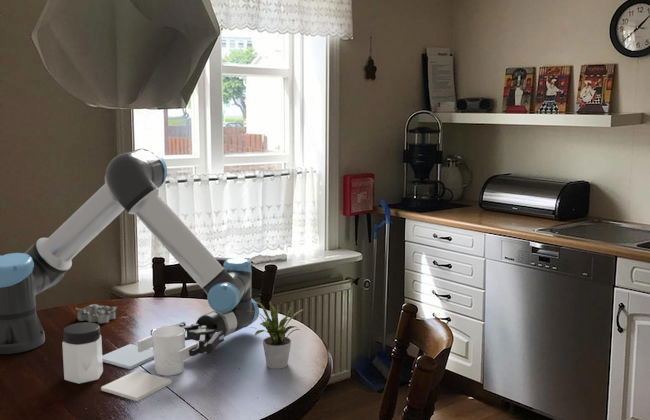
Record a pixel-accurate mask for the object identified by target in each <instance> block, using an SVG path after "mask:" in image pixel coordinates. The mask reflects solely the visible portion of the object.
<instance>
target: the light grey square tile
mask: <svg viewBox="0 0 650 420" xmlns="http://www.w3.org/2000/svg"><path fill="white" fill-rule="evenodd" d="M102 359H103V363H106V364H110V365H113V366H117V367H120V368H124V369H127V370H133V369H134V368H136V367H139V366H140V365H144V364H145V363H147V362H150V361H151V360H154V353H153V348H149V349H147V350H145V351H142V352H138V344H137V345H136V344H132V343H129V344H127V345H125V346H122V347H119V348H117V349H115V350H112V351H110V352H108V353H105V354H102Z"/></svg>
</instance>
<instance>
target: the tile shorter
mask: <svg viewBox="0 0 650 420" xmlns="http://www.w3.org/2000/svg"><path fill="white" fill-rule="evenodd" d="M171 384H172V379H169V378H165V377H161V376H157V375H154V374H151V373H147V372H144V371H140V370H134V371H132V372H130V373H128V374H126V375H124V376H123V375H122V377H119V378H118V379H115V380H113V381H111V382H109V383H106V384H104V385H102V386H101V387H100V391H102V392H106V393H109V394H113V395H115V396H119V397H122V398H125V399H129V400H131V401H134V402H140V401H141V400H143V399H144V398H147V397H149V396H151V395H152V394H154V393H156V392H159V390H160V391H161V390H162V389H164V388H166V387H167V386H169V385H171Z"/></svg>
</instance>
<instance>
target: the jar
mask: <svg viewBox="0 0 650 420" xmlns="http://www.w3.org/2000/svg"><path fill="white" fill-rule="evenodd" d="M100 327H101V326H100V325H99V323H96V322H87V321H86V322H84V321H83V322H77V323H72V324H70V325H67V326H65V327H64V328H63V329H62V330H63V331H62V332H63V334H62V335H63V341H62V343H61V344H62V346H61V347H62V360H63V376H64V377H63V379H64V380H65V381H67V382H71V383H75V384H85V383H89V382H94V381H97V380H99V379H100V377H101V376H102V374H103V372H104V366H103V365H104V364H103V363H104V362H103V359H102V356H103V344H102V343H103V342H102V335H101V328H100Z"/></svg>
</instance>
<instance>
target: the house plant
mask: <svg viewBox="0 0 650 420" xmlns="http://www.w3.org/2000/svg"><path fill="white" fill-rule="evenodd" d="M254 301H255V300H254ZM255 302H256V303H257V305H259V306H260V307H261V308H262V311H263V313H264V315H265V316H266V317H264V316H263V315H262V314H261V313H260V312H259V316H260V317H261V318H262V319H261V321H262V322H261V323H259V325H261V326H263V328H265V329H266V330H265V329H258V328H256V327H255V330H256V331H255V334H254V336H253V337H255V336H257V335H259V334H261V333H264V332H266V333H268V335H269V336H266V334H265V335H264V336H266V337H264V338H263V340H262V345H263V351H264V357H265V363H266V366H267V367H268V368H270V369H274V370H277V369H283V368H286V367H288V364H289V359H290V351H291V346H292V339H291V338H290V337H289V336H290V335H291V334H292V333H294V332H295V331H299V330H300V331H301V329H299V327H298V326H294V325H290V326H287V325H288V324H289V323H290V321H291V320H292V319H294V317H296V316H297V315H298V313H301V312H302V311H304V310H305V308H304V309H303V308H302V309H300V310H297V311H296V312H295V313H293V315H292V316H291V317H290V318H289V315H290V312H291V310H292V305H291V306H290V307H289V309H288V311H287V313H286V316H285V317H284V318H282V319H281V320H280V321H279V317H278V316H279V311H280V310H281V308H280V307H281V305H279V306H278V309H277V310H276V308H275V306H274V305H273V304H272V302H270V301H269V307H270V308H269V309H270V311H269V312H270V316H269V313H268V311H267V309H266V308H265V306H264V305H263V304H262V303H261V302H258V301H255ZM282 303H283V301H281V303H280V304H282ZM279 308H280V309H279ZM253 312H255V311H253ZM257 313H258V312H257ZM255 315H256V314H255ZM257 316H258V315H257ZM259 316H258V317H259ZM270 317H271V318H270ZM263 319H264V320H265V321H264V320H263ZM249 328H250V329H251V328H252V329H254V327H252V326H251V327H249ZM294 328H295V329H294ZM292 329H293V330H292ZM289 330H291V331H290V332H289ZM287 332H288V333H287ZM286 334H287V335H286Z"/></svg>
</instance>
